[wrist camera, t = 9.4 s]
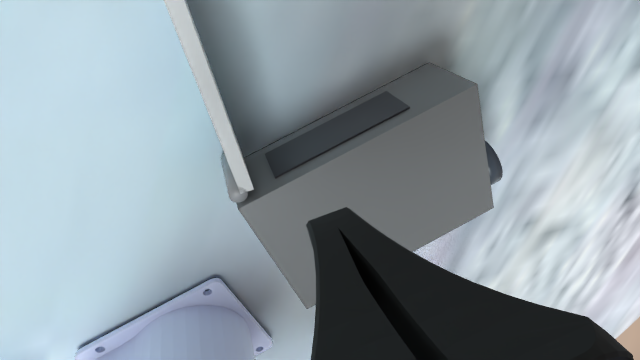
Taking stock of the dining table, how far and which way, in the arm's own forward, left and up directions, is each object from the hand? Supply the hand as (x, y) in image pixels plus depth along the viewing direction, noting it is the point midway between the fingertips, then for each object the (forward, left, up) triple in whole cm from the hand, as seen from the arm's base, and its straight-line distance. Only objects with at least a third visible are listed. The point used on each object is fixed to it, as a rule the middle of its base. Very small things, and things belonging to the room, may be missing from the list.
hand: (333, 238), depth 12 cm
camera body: (+3, -5, -9) cm, 11 cm away
